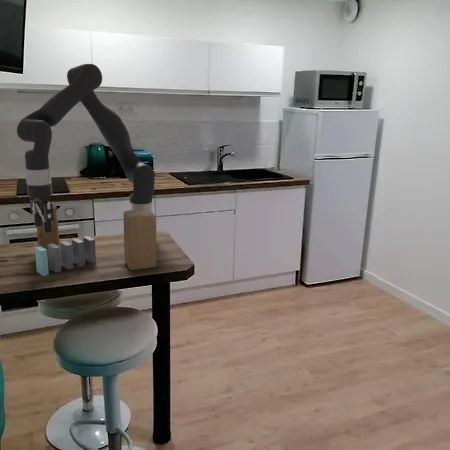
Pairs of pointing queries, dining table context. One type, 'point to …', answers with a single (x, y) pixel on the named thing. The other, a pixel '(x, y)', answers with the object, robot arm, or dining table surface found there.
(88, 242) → the domino
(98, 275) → the dining table surface
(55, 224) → the block
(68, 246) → the domino
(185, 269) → the dining table surface
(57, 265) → the domino
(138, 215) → the wooden block
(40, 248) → the domino
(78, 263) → the domino
